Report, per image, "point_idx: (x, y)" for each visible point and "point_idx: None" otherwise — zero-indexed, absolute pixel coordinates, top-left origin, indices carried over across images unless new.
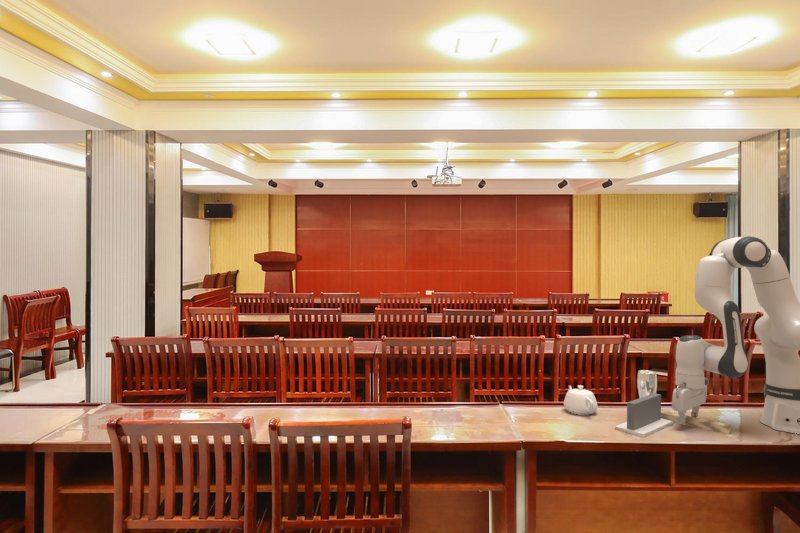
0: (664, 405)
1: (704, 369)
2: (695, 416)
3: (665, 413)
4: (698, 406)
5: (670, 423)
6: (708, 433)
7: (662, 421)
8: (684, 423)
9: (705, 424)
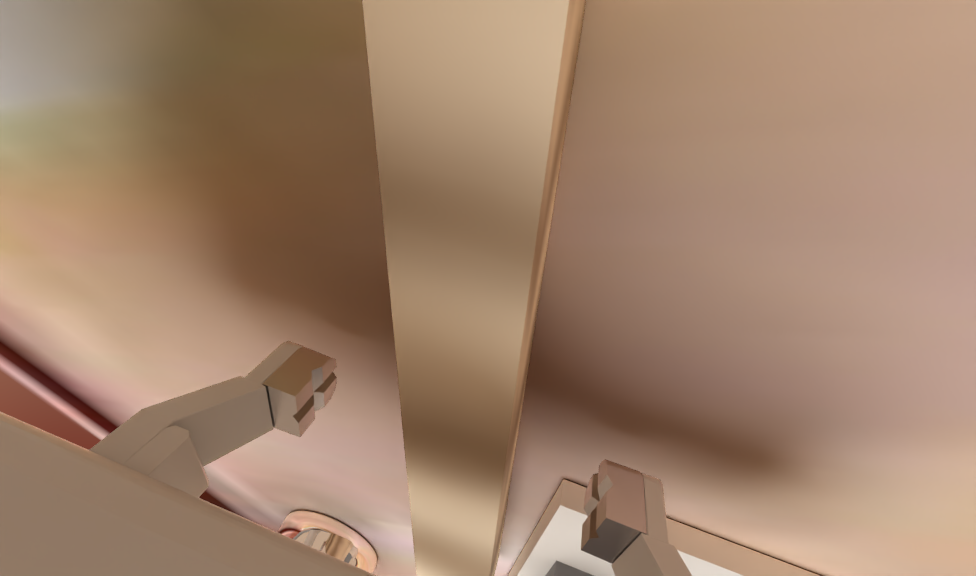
0: None
1: None
2: (325, 368)
3: (478, 573)
4: (166, 448)
5: None
6: (765, 181)
7: None
8: (519, 419)
9: (539, 260)
